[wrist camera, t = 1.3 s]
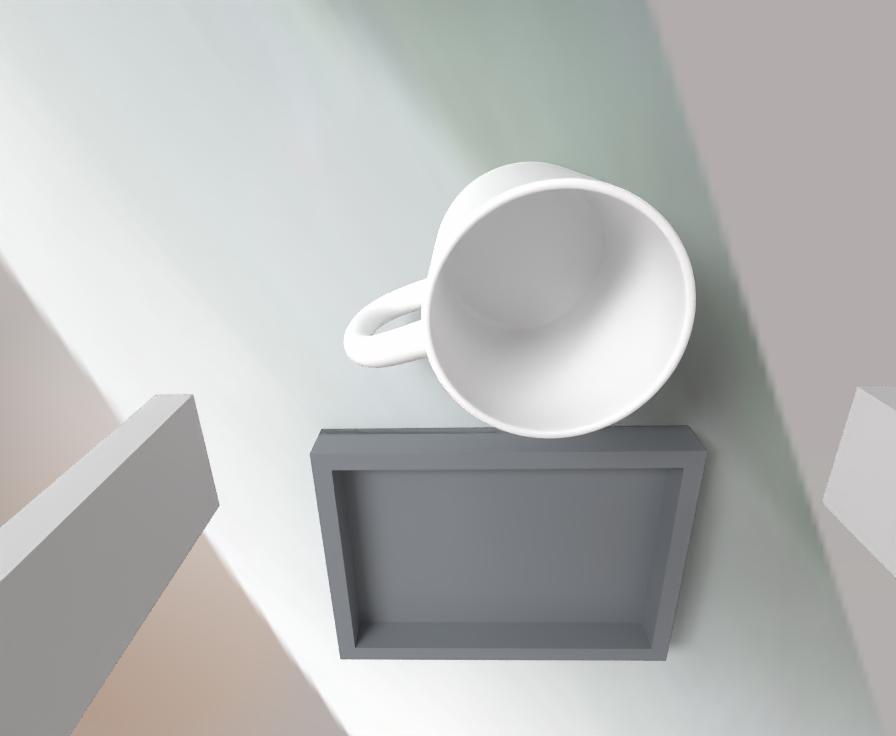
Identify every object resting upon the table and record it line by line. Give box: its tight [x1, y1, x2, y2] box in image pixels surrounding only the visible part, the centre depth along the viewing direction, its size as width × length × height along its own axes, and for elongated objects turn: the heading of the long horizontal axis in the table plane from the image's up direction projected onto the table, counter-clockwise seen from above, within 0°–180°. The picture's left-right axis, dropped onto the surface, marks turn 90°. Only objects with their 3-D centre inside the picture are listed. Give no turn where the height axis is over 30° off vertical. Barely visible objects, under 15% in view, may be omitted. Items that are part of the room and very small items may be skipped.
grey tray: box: [310, 426, 707, 661], centre depth 31 cm, size 15×20×2 cm
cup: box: [344, 162, 696, 438], centre depth 21 cm, size 8×12×10 cm
